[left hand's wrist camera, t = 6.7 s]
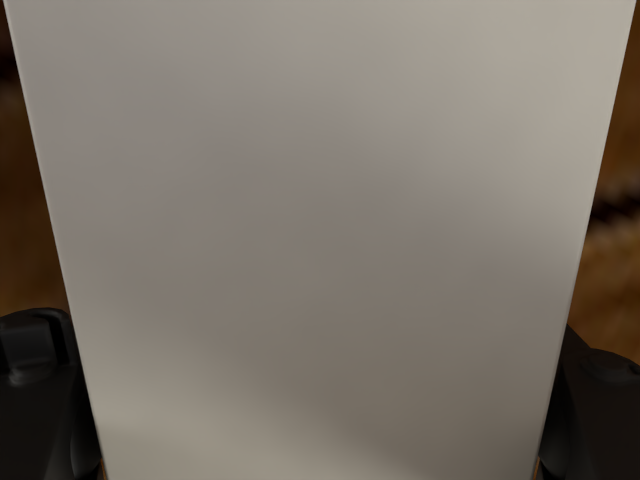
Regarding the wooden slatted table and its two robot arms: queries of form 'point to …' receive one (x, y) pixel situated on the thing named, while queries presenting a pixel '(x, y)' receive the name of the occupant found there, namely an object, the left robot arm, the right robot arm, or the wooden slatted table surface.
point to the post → (319, 224)
